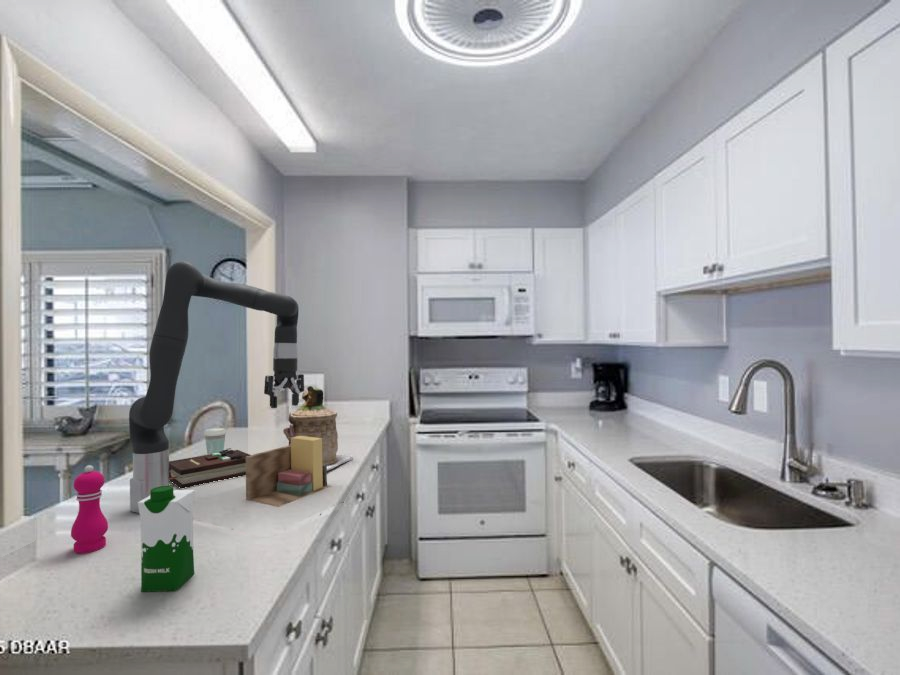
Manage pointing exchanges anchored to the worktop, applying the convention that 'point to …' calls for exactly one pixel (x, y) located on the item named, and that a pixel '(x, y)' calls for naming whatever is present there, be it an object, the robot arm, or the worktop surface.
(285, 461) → the shelf
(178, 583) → the milk carton
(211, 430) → the coffee cup
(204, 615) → the worktop surface
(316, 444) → the ochre book
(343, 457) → the cookie jar
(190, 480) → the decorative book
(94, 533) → the pepper mill
